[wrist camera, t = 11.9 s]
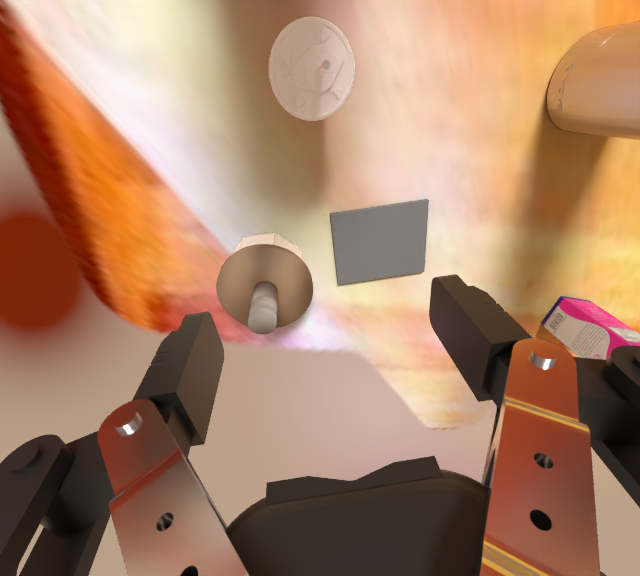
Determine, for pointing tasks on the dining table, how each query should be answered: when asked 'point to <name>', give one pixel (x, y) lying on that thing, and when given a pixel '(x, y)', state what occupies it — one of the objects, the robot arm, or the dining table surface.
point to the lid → (264, 287)
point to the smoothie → (311, 68)
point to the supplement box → (588, 328)
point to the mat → (380, 241)
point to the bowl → (268, 242)
